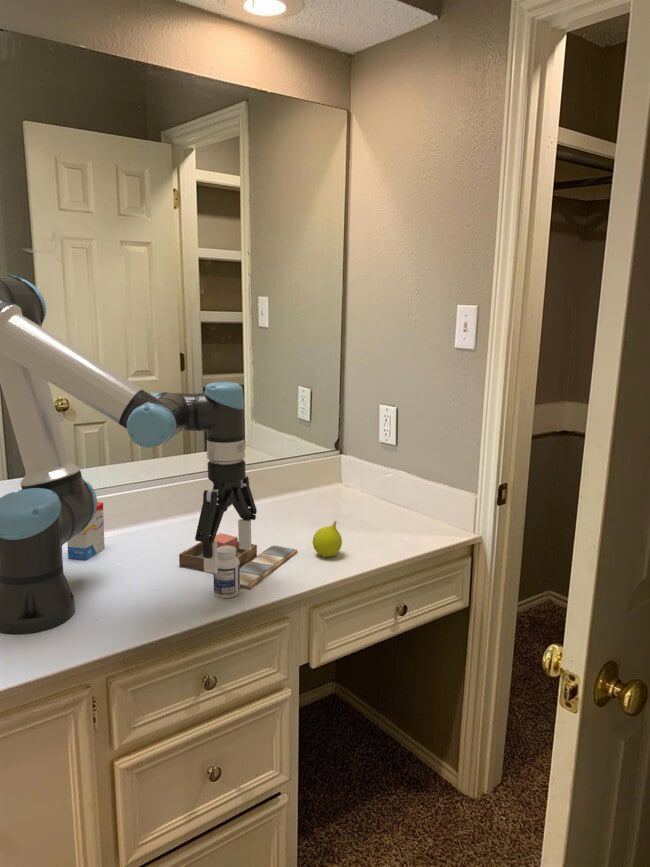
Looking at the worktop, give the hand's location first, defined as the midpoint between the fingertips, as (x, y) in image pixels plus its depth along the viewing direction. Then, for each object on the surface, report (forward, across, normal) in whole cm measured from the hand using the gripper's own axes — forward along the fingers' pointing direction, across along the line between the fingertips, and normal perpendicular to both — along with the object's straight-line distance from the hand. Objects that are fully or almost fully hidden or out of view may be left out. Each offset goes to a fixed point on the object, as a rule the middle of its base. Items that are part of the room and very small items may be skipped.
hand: (228, 560), depth 135 cm
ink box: (+7, +4, +42) cm, 43 cm away
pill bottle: (+8, 0, +1) cm, 8 cm away
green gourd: (+8, +29, -10) cm, 31 cm away
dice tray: (+7, +14, +11) cm, 19 cm away
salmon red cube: (+4, +12, +11) cm, 17 cm away
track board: (+7, +15, +1) cm, 17 cm away
